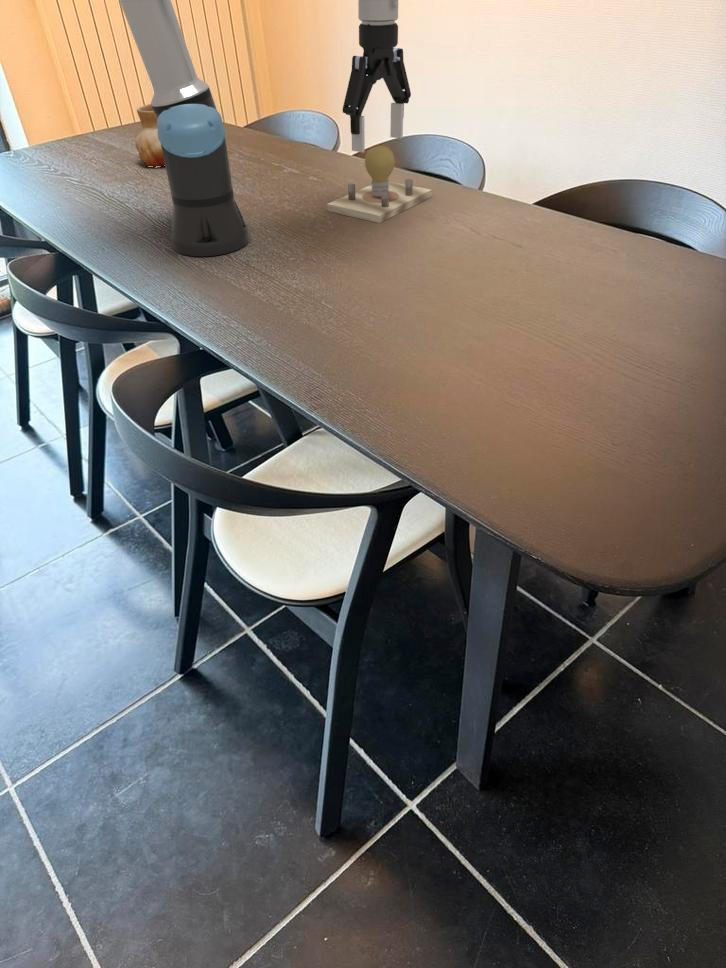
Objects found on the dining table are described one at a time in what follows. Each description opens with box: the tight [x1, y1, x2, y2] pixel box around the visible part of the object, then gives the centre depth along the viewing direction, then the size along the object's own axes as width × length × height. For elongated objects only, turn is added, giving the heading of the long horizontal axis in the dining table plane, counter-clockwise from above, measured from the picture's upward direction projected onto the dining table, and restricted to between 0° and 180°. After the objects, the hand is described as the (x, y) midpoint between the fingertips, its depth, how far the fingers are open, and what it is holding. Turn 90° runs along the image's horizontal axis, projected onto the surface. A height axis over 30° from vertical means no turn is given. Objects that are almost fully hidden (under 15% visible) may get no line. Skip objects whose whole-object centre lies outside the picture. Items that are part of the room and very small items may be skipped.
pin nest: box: [326, 178, 433, 224], centre depth 147 cm, size 20×14×4 cm
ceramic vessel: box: [134, 103, 165, 167], centre depth 179 cm, size 14×26×15 cm, turn 149°
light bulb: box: [364, 145, 396, 197], centre depth 144 cm, size 6×6×10 cm
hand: (377, 144), depth 141 cm, fingers open, 13 cm apart
